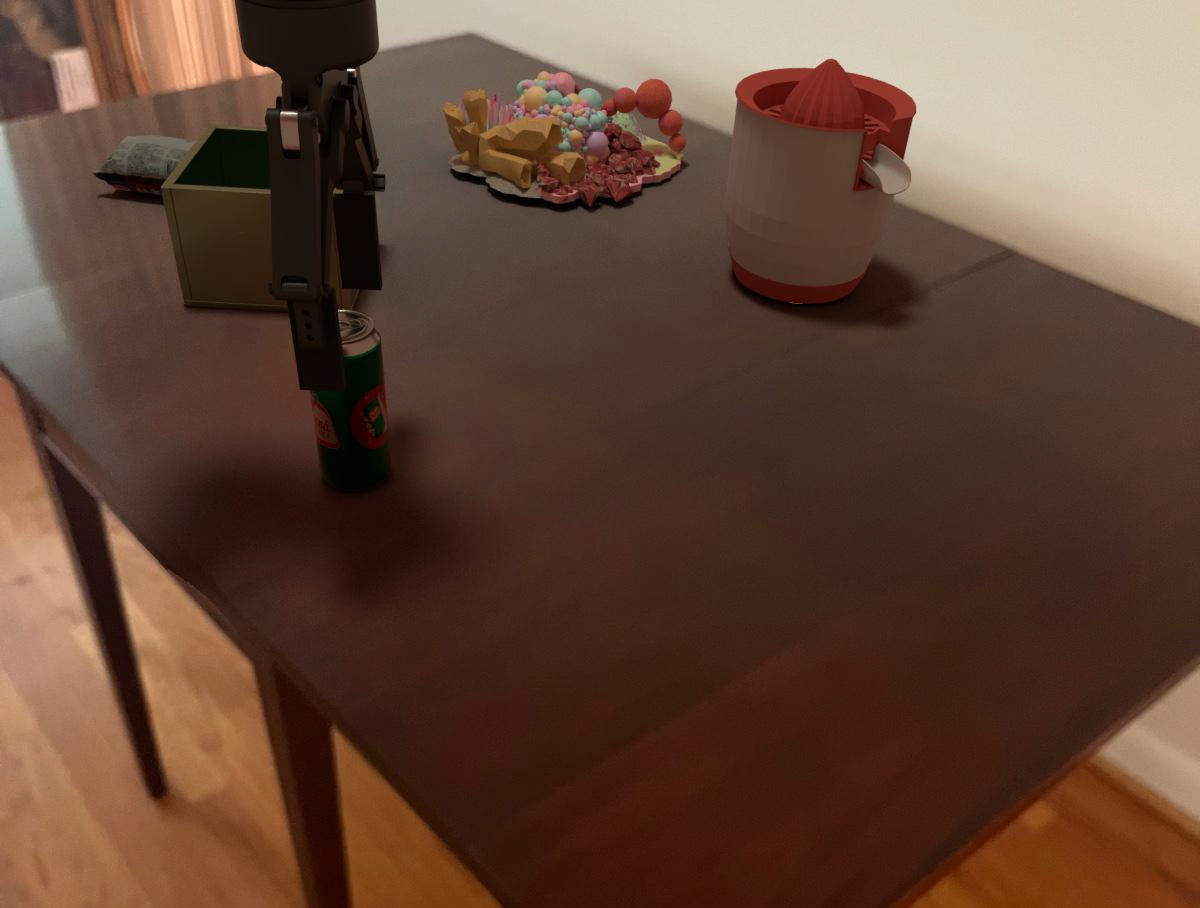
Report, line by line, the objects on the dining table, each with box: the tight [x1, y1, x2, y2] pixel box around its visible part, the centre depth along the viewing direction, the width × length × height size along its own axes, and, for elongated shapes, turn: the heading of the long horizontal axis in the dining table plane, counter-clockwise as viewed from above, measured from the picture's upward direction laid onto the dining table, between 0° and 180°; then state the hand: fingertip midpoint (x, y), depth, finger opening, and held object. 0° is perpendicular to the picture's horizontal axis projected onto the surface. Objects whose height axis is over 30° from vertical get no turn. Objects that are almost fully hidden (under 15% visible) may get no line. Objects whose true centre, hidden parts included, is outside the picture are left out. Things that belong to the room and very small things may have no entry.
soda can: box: [309, 310, 393, 493], centre depth 80 cm, size 5×5×12 cm
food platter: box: [442, 71, 687, 207], centre depth 127 cm, size 25×24×9 cm
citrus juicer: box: [724, 58, 917, 305], centre depth 104 cm, size 16×17×20 cm
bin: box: [161, 123, 380, 313], centre depth 104 cm, size 15×15×11 cm
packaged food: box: [91, 134, 197, 196], centre depth 119 cm, size 9×12×5 cm
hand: (344, 334), depth 77 cm, fingers open, 13 cm apart
